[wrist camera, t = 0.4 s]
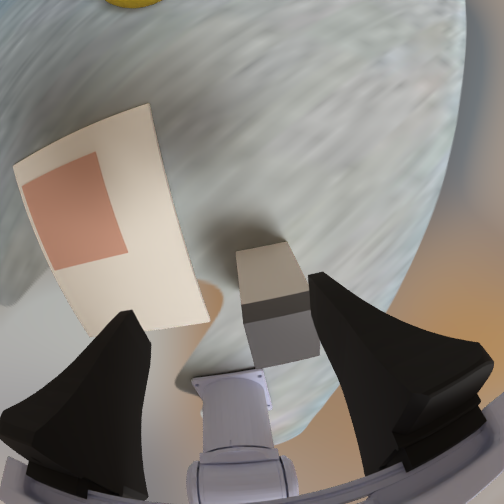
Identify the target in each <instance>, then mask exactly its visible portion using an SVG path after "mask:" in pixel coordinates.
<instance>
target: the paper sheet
mask: <svg viewBox="0 0 504 504" xmlns="http://www.w3.org/2000/svg"><path fill="white" fill-rule="evenodd" d="M13 169H14V173H15V177H16V180H17V184H18V187H19V190H20V193H21V197H22V200H23V203H24V206H25V209H26V211H27V214H28V217H29V220H30V222H31V225H32V227H33V230H34V233H35V235H36V237H37V240H38V242H39V245H40V247H41V249H42V251H43V254H44V256H45V258H46V260H47V262H48V264H49V266H50V268H51V271H52V273H53V275H54V277H55V279H56V280H57V282H58V284H59V286H60V288H61V290H62V292H63V294H64V295H65V297H66V299H67V301H68V302H69V304H70V306H71V308H72V309H73V311H74V313H75V314H76V316H77V318H78V319H79V321H80V323H81V324H82V326H83V327H84V329H85V330H86V332H87V334H88V335H89V336H90V337H96V336H97V335H98V334H99V333H100V332H101V331H102V330H103V329H104V328H105V326H106V325H107V324H108V323H109V322H110V321H111V320H112V319H113V318H114V317H115V316H116V315H117V314H118V313H119V312H120V311H126V310H133V312H134V314H135V315H136V317H137V319H138V321H139V323H140V325H141V327H142V328H143V330H144V331H151V330H159V329H166V328H173V327H180V326H186V325H193V324H199V323H205V322H210V317H209V314H208V311H207V308H206V305H205V302H204V300H203V297H202V294H201V291H200V288H199V285H198V282H197V279H196V276H195V272H194V269H193V266H192V263H191V260H190V257H189V254H188V250H187V247H186V244H185V241H184V237H183V234H182V231H181V227H180V224H179V220H178V217H177V213H176V210H175V206H174V203H173V199H172V195H171V192H170V188H169V184H168V180H167V176H166V172H165V169H164V165H163V161H162V156H161V152H160V148H159V144H158V140H157V135H156V131H155V126H154V122H153V117H152V112H151V108H150V104H149V103H148V104H145V105H141V106H138V107H135V108H133V109H130V110H127V111H124V112H121V113H119V114H116V115H113V116H111V117H108V118H106V119H103V120H101V121H98V122H96V123H94V124H91V125H89V126H87V127H84V128H82V129H80V130H78V131H76V132H74V133H71V134H69V135H67V136H65V137H63V138H61V139H59V140H57V141H55V142H53V143H52V144H50V145H48V146H46V147H44V148H42V149H40V150H39V151H37V152H35V153H33V154H32V155H30V156H28V157H27V158H25V159H23V160H22V161H20V162H18V163H17V164H15V165H14V166H13Z"/></svg>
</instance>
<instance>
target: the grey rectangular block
mask: <svg viewBox="0 0 504 504" xmlns="http://www.w3.org/2000/svg"><path fill="white" fill-rule="evenodd" d="M236 262H237V271H238V280H239V289H240V298H241V307H242V316H243V324H244V328H245V332H246V335H247V339H248V343H249V346H250V350H251V354H252V357H253V361H254V365H255V368H256V369H261V368H266V367H271V366H276V365H281V364H285V363H290V362H294V361H299V360H303V359H307V358H311V357H315V356H319V355H320V339H319V337H318V335H317V332H316V329H315V326H314V323H313V320H312V317H311V309H310V295H309V285H308V283H307V281H306V279H305V277H304V275H303V273H302V270H301V268H300V266H299V264H298V262H297V260H296V258H295V256H294V254H293V252H292V250H291V248H290V246H289V244H288V242H282V243H277V244H272V245H267V246H262V247H257V248H252V249H247V250H242V251H237V252H236Z"/></svg>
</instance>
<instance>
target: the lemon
mask: <svg viewBox="0 0 504 504" xmlns="http://www.w3.org/2000/svg"><path fill="white" fill-rule="evenodd" d="M106 1H107V2H108V3H110V4H113V5H116V6H119V7H123V8H140V7H146V6H149V5H152V4H155V3H157V2H159V1H162V0H106Z"/></svg>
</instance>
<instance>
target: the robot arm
mask: <svg viewBox="0 0 504 504" xmlns="http://www.w3.org/2000/svg"><path fill="white" fill-rule="evenodd" d="M308 282H309V295H310V309H311V317H312V320H313V323H314V326H315V329H316V332H317V335H318V337H319V339H320V341H321V344H322V346H323V348H324V350H325V352H326V354H327V356H328V358H329V360H330V363H331V365H332V367H333V369H334V371H335V373H336V375H337V377H338V380H339V382H340V385H341V387H342V390H343V393H344V397H345V400H346V403H347V406H348V409H349V413H350V416H351V419H352V423H353V426H354V430H355V434H356V438H357V442H358V445H359V450H360V455H361V458H362V464H363V468H364V474H365V477H363V478H360V479H357V480H354V481H351V482H348V483H345V484H342V485H338V486H335V487H331V488H328V489H324V490H320V491H316V492H312V493H307V494H303V495H299V488H298V480H297V475H296V471H295V467H294V465H293V462H292V461H291V460H290V459H289V458H287V457H286V456H284V455H283V456H279V454H278V449H277V448H274V444H273V438H272V432H271V426H270V420H269V415H268V410H271V409H272V403H271V399H270V395H269V391H268V387H267V383H266V379H265V375H264V371H263V369H253V370H247V371H241V372H235V373H228V374H221V375H214V376H206V377H198V378H193V379H192V380H191V382H192V384H193V386H194V388H195V389H196V391H197V393H198V394H199V396H200V398H201V399H202V401H203V453H200V461H194V462H193V463H192V464H191V465H190V466H189V467H188V470H187V479H186V480H187V481H186V484H187V485H186V486H187V496H188V501H189V504H346V503H349V502H352V501H355V500H358V499H361V498H364V497H366V496H368V498H367V499H366V501H363V502H360V503H357V504H467V503H468V502H469V501H471V500H472V499H473V498H474V497H475V496H477V495H478V494H479V493H480V492H481V491H482V490H483V489H485V488H486V487H487V486H488V485H489V484H490V483H491V482H492V481H494V480H495V479H496V478H497V477H498V476H499V475H500V474H501V473H502V472H503V471H504V392H503V393H502V394H501V395H499V396H498V397H497V398H496V399H494V400H493V401H492V402H491V403H489V404H488V405H487V406H486V407H485V408H484V409H483V410H482V411H481V410H480V408H479V407H478V405H479V404H480V402H481V400H480V398H479V396H478V395H477V393H478V392H479V390H480V389H481V387H482V386H483V385H484V383H485V382H486V380H487V379H488V377H489V376H490V374H491V372H492V370H493V367H494V361H493V360H492V358H491V357H490V356H489V354H488V353H487V352H486V351H485V349H484V348H483V347H482V346H481V345H480V343H478V342H472V341H466V340H461V339H455V338H450V337H446V336H443V335H439V334H436V333H432V332H429V331H426V330H423V329H420V328H418V327H415V326H413V325H410V324H408V323H405V322H403V321H401V320H399V319H397V318H394V317H392V316H390V315H388V314H386V313H384V312H382V311H381V310H379V309H377V308H375V307H374V306H372V305H370V304H369V303H367V302H365V301H364V300H362V299H361V298H359V297H358V296H356V295H355V294H353V293H352V292H350V291H349V290H347V289H346V288H345V287H343V286H342V285H341V284H339V283H338V282H336V281H335V280H334V279H332V278H331V277H330V276H328V275H327V274H325V273H324V272H319V273H315V274H311V275H308ZM150 360H151V342H150V341H149V339H148V338H147V335H146V334H145V332H144V330H143V328H142V327H141V325H140V323H139V321H138V319H137V317H136V315H135V314H134V312H133V310H126V311H120V312H119V313H118V314H117V315H116V316H115V317H114V318H113V319H112V320H111V321H110V322H109V323H108V324H107V325H106V326H105V328H104V329H103V330H102V331H101V332H100V333H99V334H98V335H97V336H96V338H95V339H94V340H93V341H92V342H91V343H90V344H89V345H88V346H87V348H86V349H85V350H84V351H83V352H82V353H81V354H80V355H79V356H78V357H77V358H76V359H75V361H73V362H72V363H71V364H70V365H69V366H68V367H67V368H66V369H65V370H64V371H63V372H62V373H61V374H59V375H58V376H57V377H56V378H55V379H53V380H52V381H51V382H49V383H48V384H47V385H46V386H44V387H43V388H42V389H40V390H39V391H37V392H36V393H35V394H33V395H31V396H30V397H28V398H27V399H25V400H23V401H22V402H20V403H18V404H16V405H14V406H12V407H10V408H8V409H6V410H4V411H3V412H2V414H1V417H0V439H1V440H2V441H3V442H4V443H5V444H6V445H8V446H9V447H10V448H12V449H13V450H14V451H16V452H17V453H18V454H20V455H21V456H23V457H24V458H26V459H27V460H29V463H28V465H25V464H24V463H22V462H20V461H18V460H16V459H14V458H11V457H10V456H8V457H7V461H6V465H5V469H4V473H3V477H2V481H1V487H0V500H1V501H3V502H4V503H6V504H169V503H158V502H149V501H145V500H146V499H147V498H148V492H147V488H146V482H145V476H144V470H143V461H142V446H141V417H142V407H143V402H144V396H145V390H146V385H147V380H148V374H149V368H150ZM369 495H370V496H369Z"/></svg>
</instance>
